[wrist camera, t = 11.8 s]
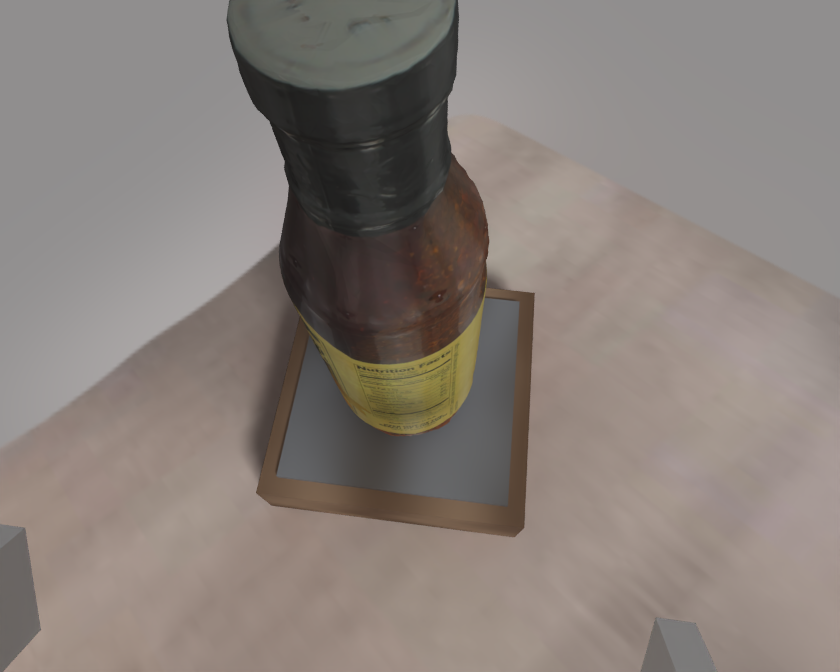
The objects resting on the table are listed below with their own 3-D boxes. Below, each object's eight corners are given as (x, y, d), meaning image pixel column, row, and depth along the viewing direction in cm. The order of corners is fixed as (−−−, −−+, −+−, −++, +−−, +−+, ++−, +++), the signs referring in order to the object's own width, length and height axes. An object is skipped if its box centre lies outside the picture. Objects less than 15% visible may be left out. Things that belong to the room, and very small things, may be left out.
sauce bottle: (363, 313, 30) (242, -144, 12) (483, 336, 29) (552, -116, 11) (325, 434, 27) (93, 84, 9) (457, 464, 26) (488, 144, 8)
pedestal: (525, 319, 33) (535, 289, 30) (514, 537, 28) (525, 526, 25) (320, 297, 34) (310, 266, 31) (271, 505, 29) (254, 491, 26)
